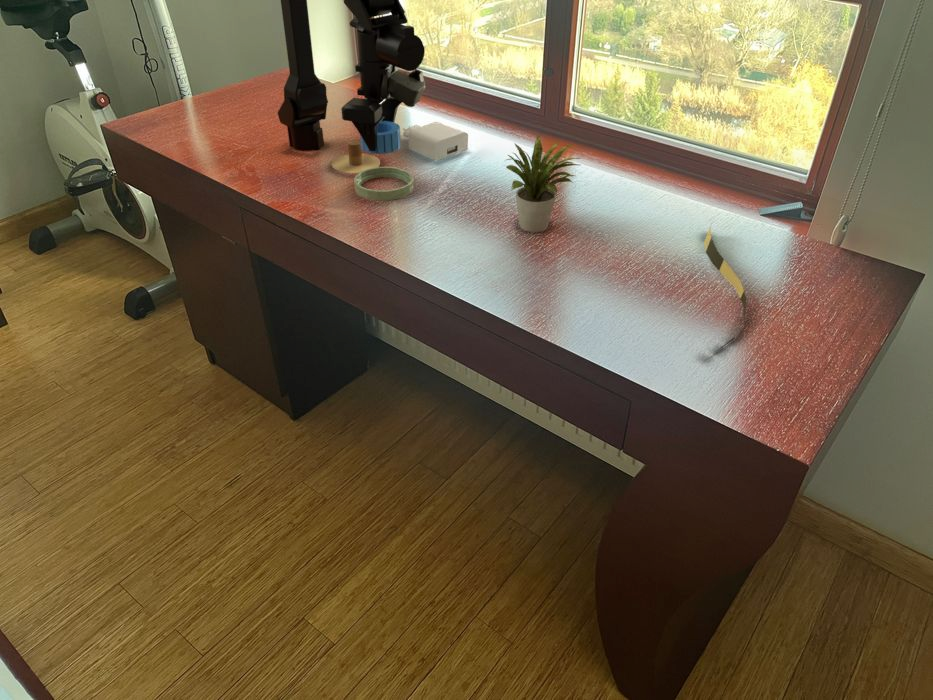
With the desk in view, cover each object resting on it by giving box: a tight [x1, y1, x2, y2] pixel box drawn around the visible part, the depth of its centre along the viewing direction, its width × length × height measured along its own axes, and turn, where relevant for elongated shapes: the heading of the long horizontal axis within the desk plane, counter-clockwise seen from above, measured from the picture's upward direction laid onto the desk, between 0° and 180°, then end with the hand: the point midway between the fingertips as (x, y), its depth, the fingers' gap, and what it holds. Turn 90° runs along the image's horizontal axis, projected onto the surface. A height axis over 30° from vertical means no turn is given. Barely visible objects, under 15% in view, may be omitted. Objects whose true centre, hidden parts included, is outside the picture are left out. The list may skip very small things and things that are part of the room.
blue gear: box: [359, 121, 402, 155], centre depth 139 cm, size 7×7×4 cm
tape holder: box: [331, 139, 381, 174], centre depth 153 cm, size 10×10×5 cm
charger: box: [402, 121, 469, 162], centre depth 161 cm, size 5×9×15 cm
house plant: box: [503, 134, 581, 233], centre depth 129 cm, size 14×14×16 cm
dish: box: [353, 166, 415, 202], centre depth 145 cm, size 11×11×3 cm
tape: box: [703, 220, 748, 358], centre depth 116 cm, size 6×38×4 cm, turn 166°
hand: (380, 143), depth 140 cm, fingers closed on blue gear, 7 cm apart
